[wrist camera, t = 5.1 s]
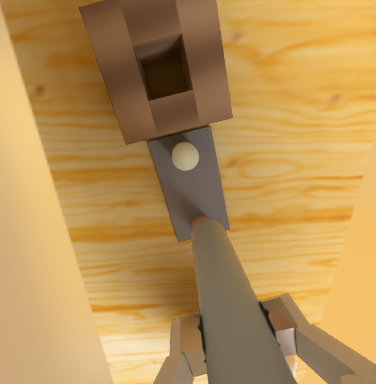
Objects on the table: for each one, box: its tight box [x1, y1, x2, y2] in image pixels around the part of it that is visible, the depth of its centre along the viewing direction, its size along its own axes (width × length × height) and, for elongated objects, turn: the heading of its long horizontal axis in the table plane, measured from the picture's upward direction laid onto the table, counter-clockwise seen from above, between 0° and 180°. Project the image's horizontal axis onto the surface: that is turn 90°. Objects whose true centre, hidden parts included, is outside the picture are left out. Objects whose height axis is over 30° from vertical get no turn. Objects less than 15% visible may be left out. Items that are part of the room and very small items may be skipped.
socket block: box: [79, 0, 233, 145], centre depth 21 cm, size 12×12×6 cm
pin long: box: [191, 220, 297, 384], centre depth 10 cm, size 3×3×14 cm
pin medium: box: [191, 215, 210, 229], centre depth 26 cm, size 3×3×8 cm
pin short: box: [172, 140, 199, 171], centre depth 24 cm, size 3×3×5 cm
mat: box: [148, 126, 230, 242], centre depth 28 cm, size 17×9×1 cm, turn 13°
